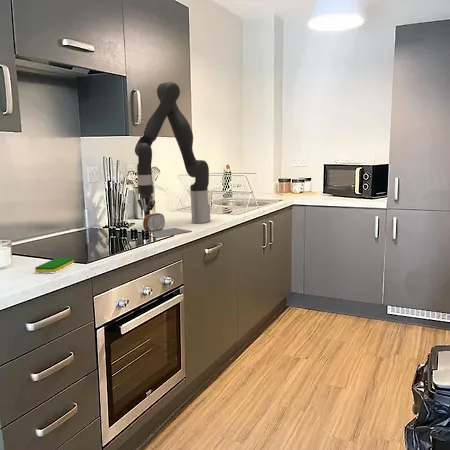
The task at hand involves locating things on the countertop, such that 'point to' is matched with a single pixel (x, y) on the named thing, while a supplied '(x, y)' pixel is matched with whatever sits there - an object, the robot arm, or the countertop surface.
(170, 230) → the mat
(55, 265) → the dish sponge
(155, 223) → the tin
